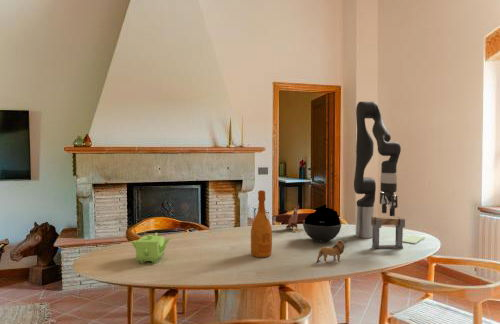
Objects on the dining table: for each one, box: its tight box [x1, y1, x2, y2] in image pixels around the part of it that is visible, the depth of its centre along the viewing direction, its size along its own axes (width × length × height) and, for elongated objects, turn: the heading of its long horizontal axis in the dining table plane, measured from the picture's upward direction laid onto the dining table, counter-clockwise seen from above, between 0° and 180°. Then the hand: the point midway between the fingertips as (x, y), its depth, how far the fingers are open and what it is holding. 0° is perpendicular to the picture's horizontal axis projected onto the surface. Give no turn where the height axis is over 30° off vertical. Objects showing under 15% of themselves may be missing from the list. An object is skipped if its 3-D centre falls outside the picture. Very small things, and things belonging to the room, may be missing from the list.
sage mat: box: [402, 234, 425, 245], centre depth 201 cm, size 17×8×1 cm, turn 140°
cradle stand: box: [371, 216, 406, 250], centre depth 184 cm, size 15×6×15 cm, turn 95°
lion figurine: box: [316, 239, 346, 265], centre depth 162 cm, size 15×5×9 cm, turn 116°
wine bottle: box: [250, 189, 273, 258], centre depth 171 cm, size 10×10×30 cm
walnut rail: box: [372, 217, 404, 226], centre depth 184 cm, size 15×3×3 cm, turn 95°
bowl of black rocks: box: [302, 204, 342, 243], centre depth 197 cm, size 20×20×19 cm
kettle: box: [130, 232, 173, 264], centre depth 162 cm, size 15×14×11 cm
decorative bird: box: [271, 203, 312, 233], centre depth 221 cm, size 28×18×15 cm, turn 111°
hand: (388, 214), depth 184 cm, fingers open, 8 cm apart
